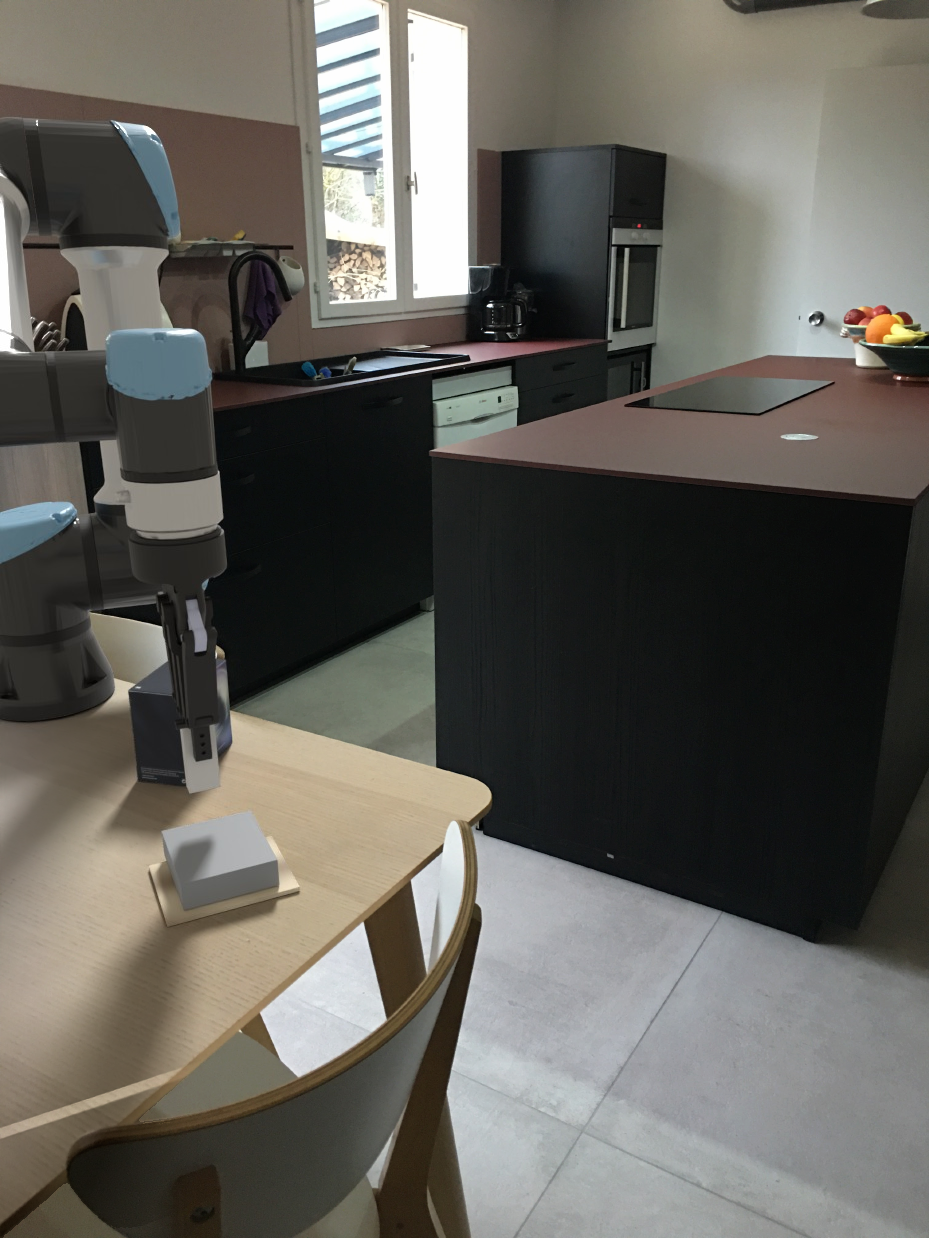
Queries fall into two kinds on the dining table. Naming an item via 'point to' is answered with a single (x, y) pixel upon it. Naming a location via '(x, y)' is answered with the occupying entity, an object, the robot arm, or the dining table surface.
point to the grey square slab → (219, 859)
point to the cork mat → (178, 915)
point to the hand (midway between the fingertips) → (203, 786)
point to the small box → (169, 726)
